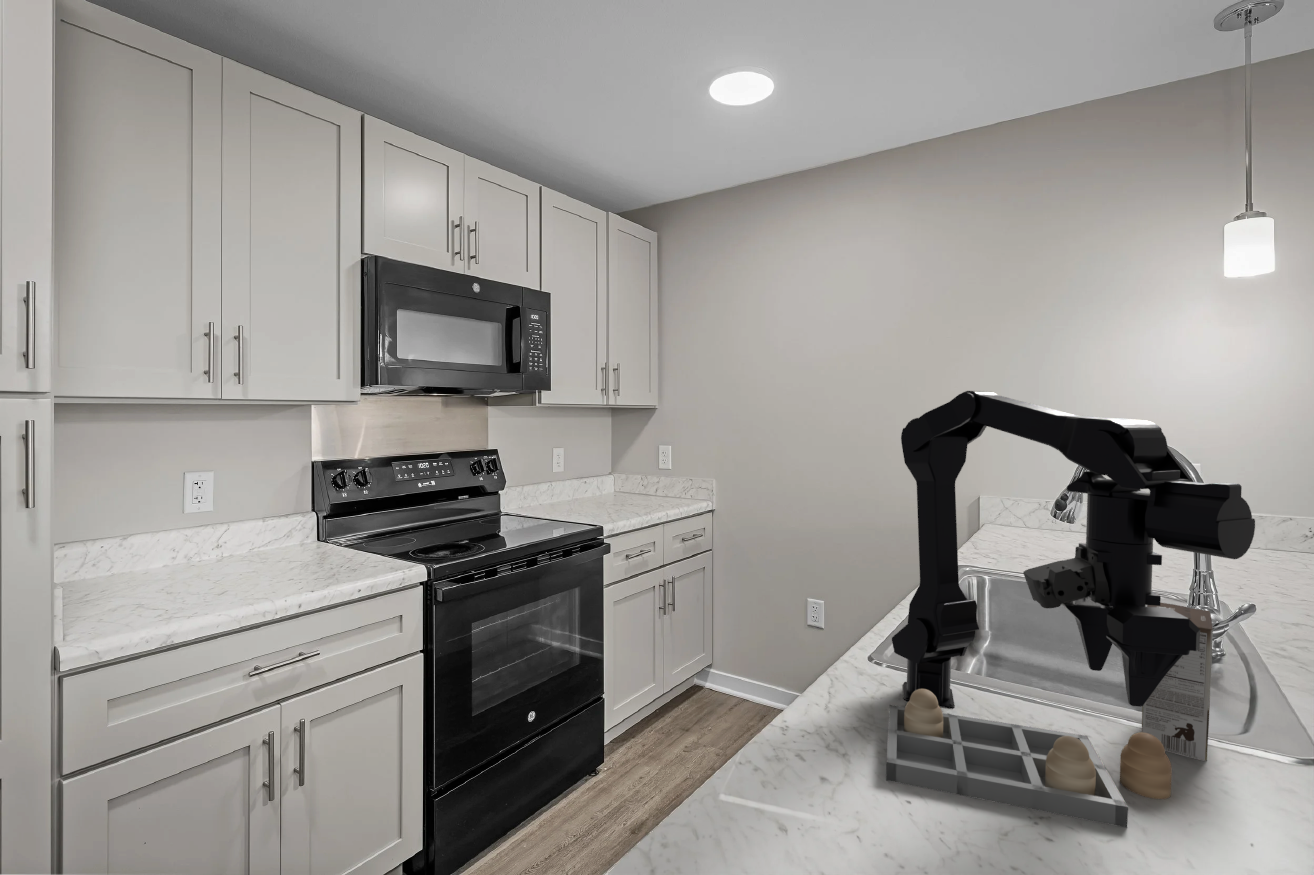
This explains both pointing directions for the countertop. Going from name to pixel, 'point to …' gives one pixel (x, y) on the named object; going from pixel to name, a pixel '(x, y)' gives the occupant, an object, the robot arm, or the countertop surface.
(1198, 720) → the coffee box
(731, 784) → the countertop surface
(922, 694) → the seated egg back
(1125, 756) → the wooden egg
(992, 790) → the egg carton
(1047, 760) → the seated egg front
